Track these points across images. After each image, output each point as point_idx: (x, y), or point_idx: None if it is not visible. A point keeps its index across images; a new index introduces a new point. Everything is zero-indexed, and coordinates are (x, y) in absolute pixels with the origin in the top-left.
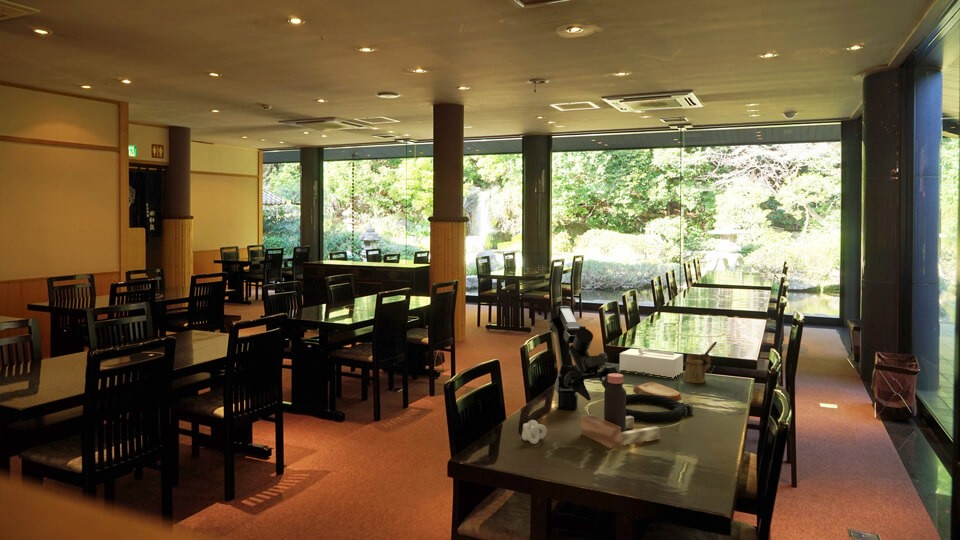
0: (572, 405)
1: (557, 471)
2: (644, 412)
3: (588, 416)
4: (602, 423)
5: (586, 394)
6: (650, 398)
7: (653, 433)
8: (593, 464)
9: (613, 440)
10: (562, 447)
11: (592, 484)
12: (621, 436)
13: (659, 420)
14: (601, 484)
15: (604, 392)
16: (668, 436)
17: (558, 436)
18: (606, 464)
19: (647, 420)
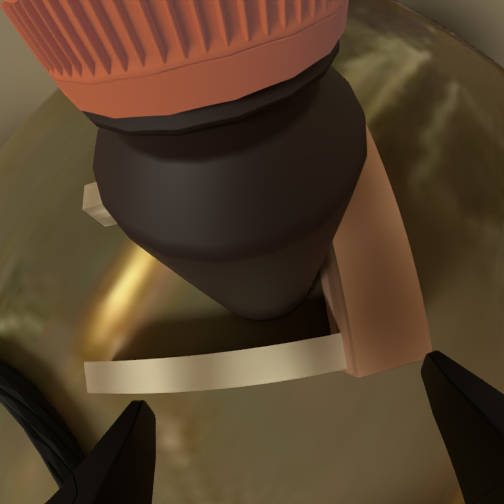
0: None
1: (499, 91)
2: (20, 409)
3: (401, 329)
4: (369, 179)
5: (476, 379)
6: None
7: None
8: (426, 83)
9: None
10: (494, 219)
11: (436, 31)
12: None
13: (8, 365)
14: (420, 25)
15: (358, 179)
16: (67, 222)
17: (484, 340)
18: (393, 72)
19: (36, 391)
